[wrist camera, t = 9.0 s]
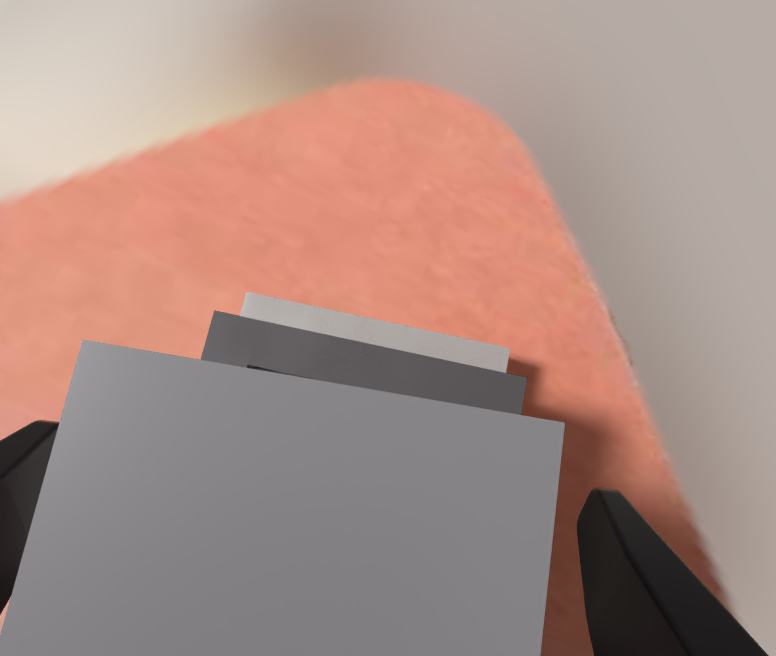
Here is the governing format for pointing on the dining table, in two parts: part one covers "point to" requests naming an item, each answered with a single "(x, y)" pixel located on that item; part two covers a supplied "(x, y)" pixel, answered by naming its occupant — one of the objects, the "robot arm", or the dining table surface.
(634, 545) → the robot arm
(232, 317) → the socket
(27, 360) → the dining table surface
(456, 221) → the dining table surface
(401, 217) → the dining table surface
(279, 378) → the plug
